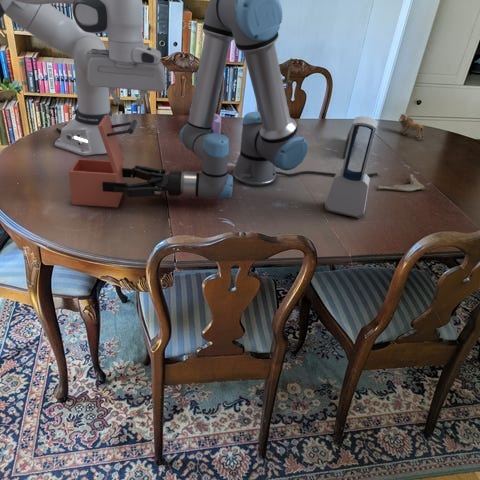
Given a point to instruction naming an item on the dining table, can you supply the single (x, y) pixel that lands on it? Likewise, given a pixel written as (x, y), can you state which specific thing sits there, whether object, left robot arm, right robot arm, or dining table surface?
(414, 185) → the jawbone
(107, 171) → the chest
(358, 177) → the electronic device
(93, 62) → the left robot arm
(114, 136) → the lid
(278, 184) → the dining table surface
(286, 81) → the miniature windmill
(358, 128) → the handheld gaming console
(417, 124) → the lion figurine
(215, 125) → the clip
